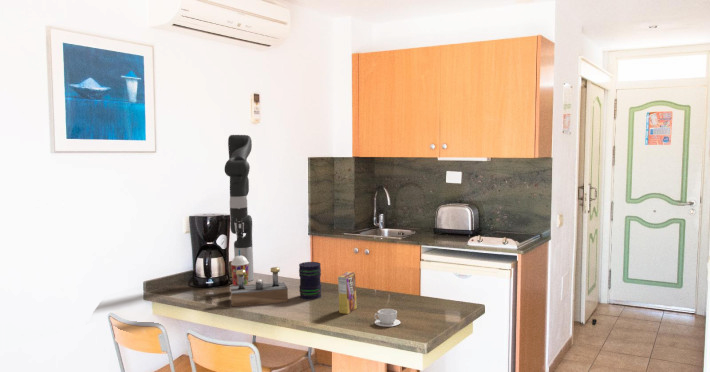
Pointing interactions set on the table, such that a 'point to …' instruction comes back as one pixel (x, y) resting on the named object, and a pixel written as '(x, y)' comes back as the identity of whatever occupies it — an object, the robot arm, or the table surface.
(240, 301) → the mount
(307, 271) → the storage jar
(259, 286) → the cylinder
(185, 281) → the table surface
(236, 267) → the smoothie
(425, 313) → the table surface
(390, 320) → the teacup
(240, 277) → the knob
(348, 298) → the candy box
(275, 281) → the knob
